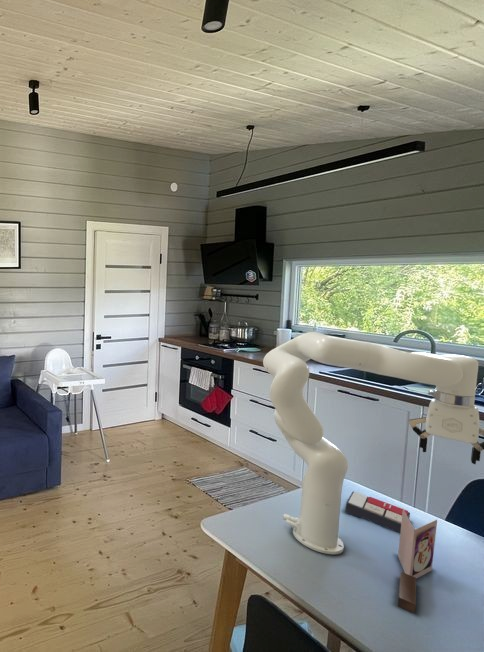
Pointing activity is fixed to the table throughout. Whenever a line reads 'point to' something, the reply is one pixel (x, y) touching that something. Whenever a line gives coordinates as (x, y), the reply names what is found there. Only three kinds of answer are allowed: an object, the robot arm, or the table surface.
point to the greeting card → (416, 547)
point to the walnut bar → (407, 592)
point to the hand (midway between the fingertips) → (448, 456)
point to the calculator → (375, 511)
